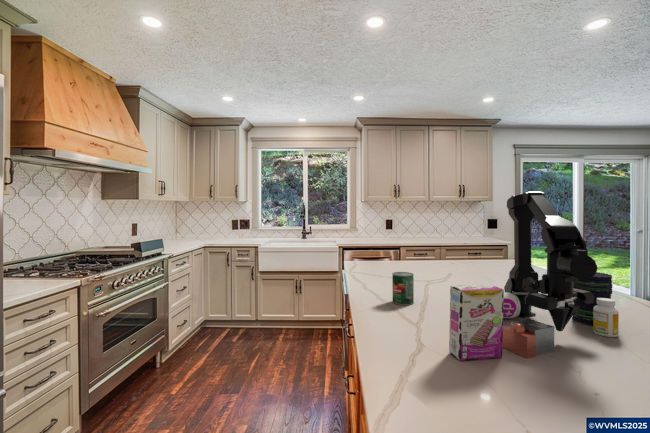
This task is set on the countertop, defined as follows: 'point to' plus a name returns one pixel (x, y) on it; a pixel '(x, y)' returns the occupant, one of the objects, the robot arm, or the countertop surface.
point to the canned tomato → (403, 288)
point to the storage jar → (599, 288)
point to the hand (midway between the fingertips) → (559, 330)
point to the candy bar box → (476, 322)
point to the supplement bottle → (605, 318)
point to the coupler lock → (540, 335)
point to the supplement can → (510, 305)
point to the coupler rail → (519, 340)
